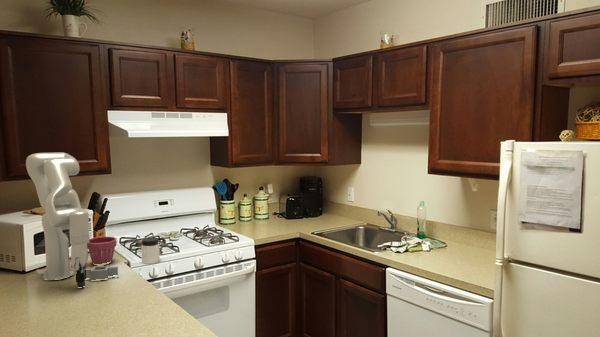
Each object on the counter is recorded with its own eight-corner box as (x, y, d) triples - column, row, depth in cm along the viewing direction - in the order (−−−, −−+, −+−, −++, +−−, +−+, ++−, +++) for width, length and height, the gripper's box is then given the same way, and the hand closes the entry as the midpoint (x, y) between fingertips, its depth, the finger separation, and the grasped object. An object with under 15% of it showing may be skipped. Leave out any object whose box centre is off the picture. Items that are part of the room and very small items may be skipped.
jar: (138, 262, 219) (137, 240, 218) (151, 258, 226) (150, 236, 225) (150, 265, 214) (149, 242, 214) (162, 260, 221) (162, 238, 221)
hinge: (80, 282, 188) (80, 271, 188) (84, 277, 195) (84, 267, 195) (116, 279, 192) (116, 269, 192) (119, 274, 199) (118, 264, 199)
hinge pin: (73, 289, 179) (72, 266, 178) (76, 285, 183) (75, 263, 183) (86, 288, 180) (85, 265, 179) (88, 285, 185) (87, 262, 184)
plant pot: (115, 266, 212) (114, 241, 211) (84, 269, 208) (83, 243, 207) (118, 258, 225) (118, 235, 225) (90, 261, 222) (89, 237, 221)
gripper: (74, 235, 187) (76, 275, 188) (64, 244, 171) (66, 288, 173) (93, 234, 189) (94, 273, 190) (84, 243, 173) (86, 286, 175)
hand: (81, 280), depth 182 cm, fingers closed on hinge pin, 3 cm apart
